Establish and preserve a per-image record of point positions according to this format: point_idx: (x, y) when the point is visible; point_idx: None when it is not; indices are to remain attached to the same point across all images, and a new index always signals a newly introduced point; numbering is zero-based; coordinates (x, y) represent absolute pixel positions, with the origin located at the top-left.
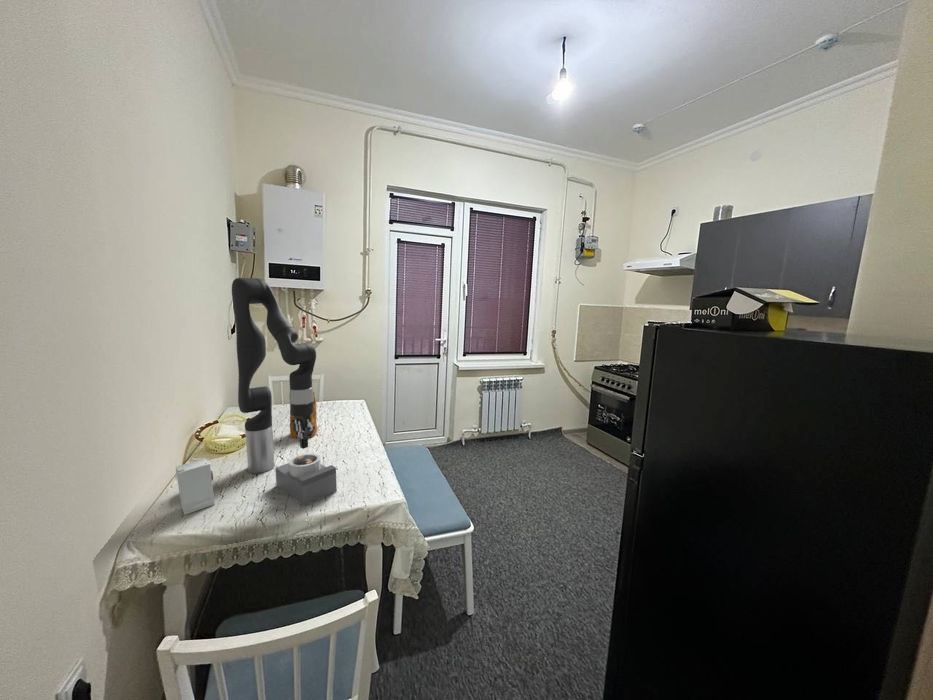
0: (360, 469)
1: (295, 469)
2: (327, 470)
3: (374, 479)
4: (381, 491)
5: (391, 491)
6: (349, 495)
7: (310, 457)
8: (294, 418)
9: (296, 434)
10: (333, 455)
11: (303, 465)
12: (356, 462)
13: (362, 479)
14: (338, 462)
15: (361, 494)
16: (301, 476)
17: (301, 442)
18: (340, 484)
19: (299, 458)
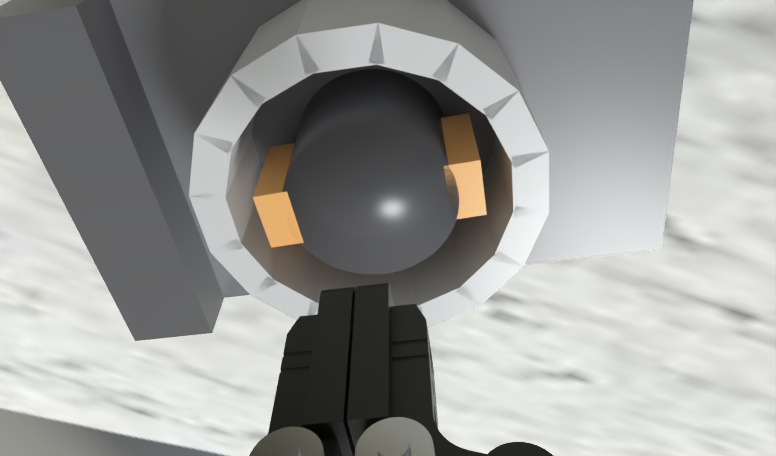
0: None
1: (261, 47)
2: (114, 278)
3: (211, 400)
4: (55, 374)
5: (30, 403)
6: None
7: (388, 264)
8: None
9: (519, 446)
10: (710, 365)
11: (216, 145)
12: (489, 414)
13: (253, 362)
14: (582, 351)
15: (74, 296)
16: (234, 65)
17: (318, 364)
18: None
19: (451, 171)
